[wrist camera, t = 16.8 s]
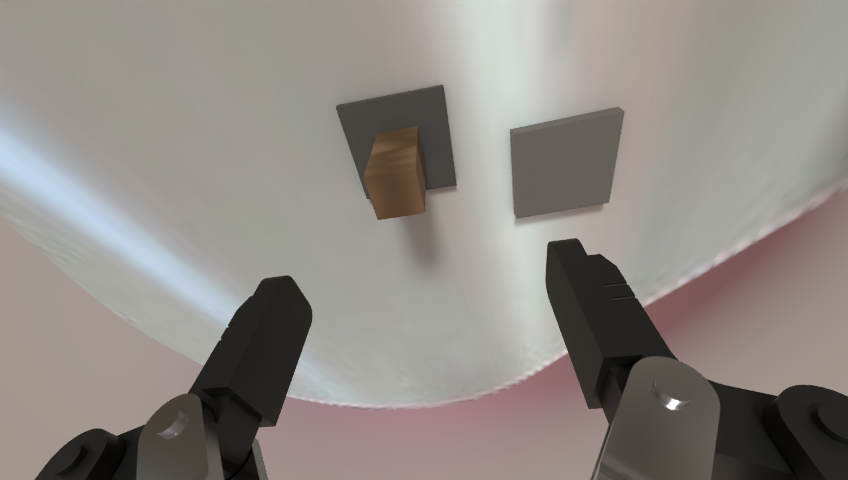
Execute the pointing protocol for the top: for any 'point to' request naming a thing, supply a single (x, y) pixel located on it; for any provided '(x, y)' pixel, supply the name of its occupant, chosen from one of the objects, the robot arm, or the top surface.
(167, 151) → the top surface
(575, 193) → the tile
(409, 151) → the block
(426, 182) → the mat
